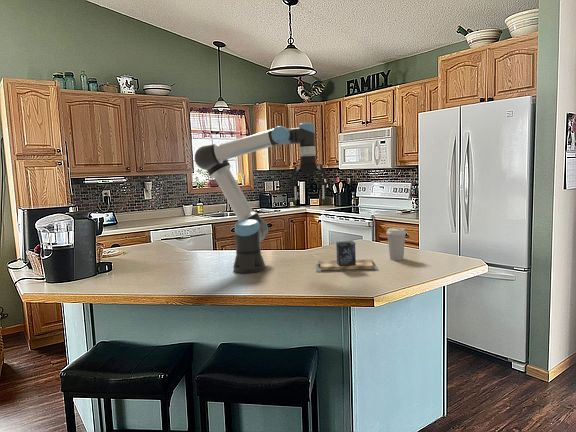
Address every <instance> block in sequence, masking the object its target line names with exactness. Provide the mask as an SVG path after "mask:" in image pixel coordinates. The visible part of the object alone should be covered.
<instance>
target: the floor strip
mask: <svg viewBox="0 0 576 432" xmlns="http://www.w3.org/2000/svg"><path fill="white" fill-rule="evenodd" d="M365 262H372V264H373V265H374V263H375V262H374V260H373V259H370V258H369V259H356V263H365ZM332 263H337V259H336V260H318V261H317V264H318V267H321V266H320V264H332Z"/></svg>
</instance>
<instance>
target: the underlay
mask: <svg viewBox="0 0 576 432" xmlns="http://www.w3.org/2000/svg"><path fill="white" fill-rule="evenodd" d="M315 266H316V267H315V268H316V269H315V272H316V273H328V272H329V273H331V272H332V273H333V272H334V273H335V272H337V273H338V272H364V271H365V272H369V271H379V268H378V266H377V264H376V262H374V269H348V270H321V267H318V263H316V265H315Z"/></svg>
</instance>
